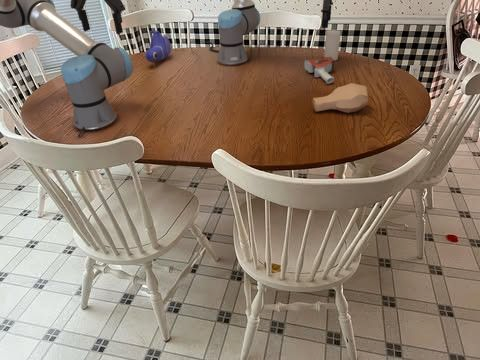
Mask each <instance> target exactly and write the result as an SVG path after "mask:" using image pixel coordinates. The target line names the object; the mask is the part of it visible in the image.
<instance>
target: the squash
mask: <svg viewBox="0 0 480 360" xmlns="http://www.w3.org/2000/svg"><path fill="white" fill-rule="evenodd" d="M368 102H369V92H368V88H367V86H365V85H363V84H357V83H354V82H353V83H352V82H350V83H348V84H345V85H342V86H337V87H336V88H335V89H334V90H333V91H332V92H331V93H330V94H328V95H324V96H320V97H319V96H318V97H313V98H312V105H313V108H314V111H315V112H321V111H326V110H337V111H339V112H343V113H355V112H359V111H360V110H362V109H363V108H365V107H366V106H367V104H368Z"/></svg>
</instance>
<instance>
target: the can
mask: <svg viewBox="0 0 480 360" xmlns="http://www.w3.org/2000/svg"><path fill="white" fill-rule="evenodd" d="M341 33H342V32H341V31H340V30H338V29H337V30H336V29H330V30H329V29H328V30H326V31H325V40H324V52H323V58H325V57H331V58H332V59H333V60H334V61H336V60H337V61H338V59H339V53H340V51H339V50H340V43H341V36H342V35H341Z"/></svg>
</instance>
